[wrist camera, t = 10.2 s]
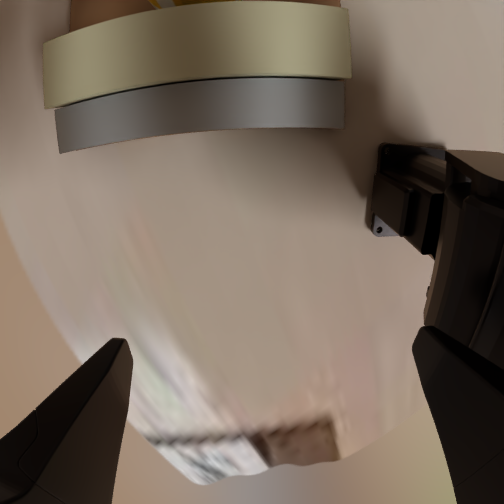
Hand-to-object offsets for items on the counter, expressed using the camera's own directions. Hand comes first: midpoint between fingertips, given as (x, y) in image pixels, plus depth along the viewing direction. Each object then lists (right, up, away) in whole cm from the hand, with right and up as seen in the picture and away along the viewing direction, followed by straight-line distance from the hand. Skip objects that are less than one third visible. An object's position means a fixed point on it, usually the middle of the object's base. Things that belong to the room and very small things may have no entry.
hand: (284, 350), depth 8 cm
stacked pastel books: (-4, +18, +4) cm, 19 cm away
